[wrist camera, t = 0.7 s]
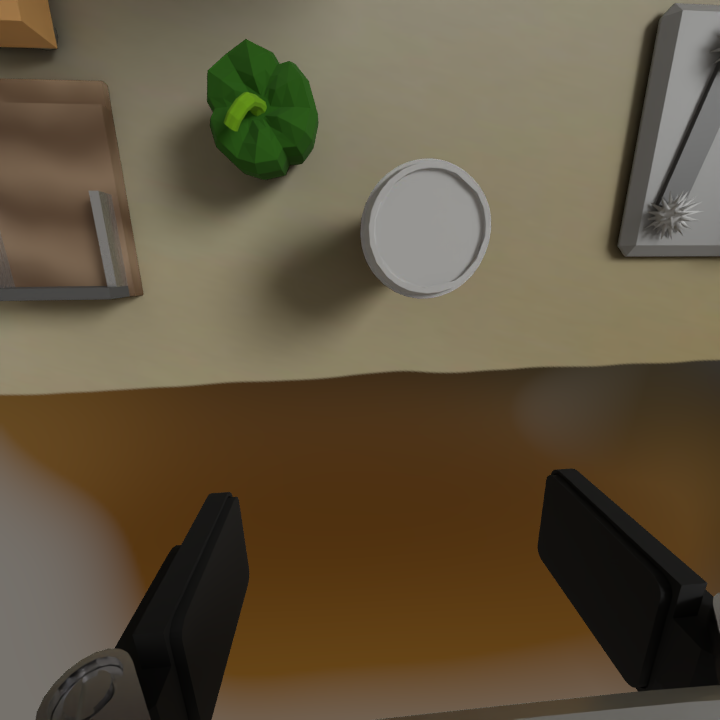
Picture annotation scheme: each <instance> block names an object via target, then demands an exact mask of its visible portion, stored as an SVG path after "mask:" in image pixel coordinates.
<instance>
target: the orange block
mask: <svg viewBox="0 0 720 720" xmlns="http://www.w3.org/2000/svg"><path fill="white" fill-rule="evenodd" d="M57 43H58V36H57V32H56V30H55V28H54V26H53V24H52V19H51V14H50V9H49V4H48V0H0V48H1V47H19V48H39V49H43V50H51V49H53V48H54V49H57Z"/></svg>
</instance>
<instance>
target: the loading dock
mask: <svg viewBox="0 0 720 720" xmlns="http://www.w3.org/2000/svg"><path fill="white" fill-rule="evenodd" d="M139 295H143V289H142V283H141V277H140V272H139V266H138V260H137V254H136V248H135V243H134V237H133V231H132V225H131V219H130V214H129V208H128V202H127V196H126V190H125V185H124V179H123V173H122V167H121V161H120V156H119V150H118V144H117V138H116V132H115V127H114V121H113V115H112V109H111V104H110V98H109V92H108V86H107V85H106V84H105V83H104V82H102V81H81V80H38V79H0V301H26V300H92V299H115V298H121V297H128V296H139Z"/></svg>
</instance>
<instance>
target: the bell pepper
mask: <svg viewBox="0 0 720 720" xmlns="http://www.w3.org/2000/svg"><path fill="white" fill-rule="evenodd" d="M207 102H208V104H209V106H210V108H211V110H212V111H213V114H212V116H211V119H210V128H211V131H212V134H213V138H214V141H215V144H216V147H217V148H218V149H219V150H220V151H221V152H222V153H223V154H224V155H225V156H226V157H227V158H228V159H229V160H230V161H232V162H233V163H234V164H235V165H236V166H237V167H238V168H239V169H240V170H241V171H242V172H243V173H245V174H247V175H250V176H254V177H257V178H260V179H263V180H268V179H272V178H276V177H280V176H284V175H286V174H287V171H288V168H289V166H290V165H298V164H302V163H303V162H304V161H305V159H306V158H307V157H308V155H309V154H310V153H311V151H312V150H313V148H314V143H315V138H316V133H317V128H318V113H317V110H316V106H315V102H314V99H313V95H312V92H311V88H310V84H309V81H308V80H307V78H306V77H305V76H304V75H303V73H302V72H301V71H300V70H299V68H298V67H297V66H296V64H294V63H292V62H290V61H288V62H285V63H282V64H279V62H278V60H277V59H276V57H275V55H274V53H272V52H270V51H268V50H266V49H264V48H262V47H260V46H258V45H256V44H254V43H253V42H251V41H249V40H247V39H245V40H244V41H243V42H241V43H240V44H239V45H237V46H236V47H235V48H233V49H232V50H231V51H229V52H228V53H227V54H225V55H224V56H223V57H222V58H221V59H220V60H219V61H218V62H217V63H216V64H214V65H213V66H212V67H211V68H210V69H209V70H208V73H207Z"/></svg>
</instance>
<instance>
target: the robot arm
mask: <svg viewBox="0 0 720 720" xmlns="http://www.w3.org/2000/svg"><path fill="white" fill-rule="evenodd" d="M538 552H539V555H540V558H541V560H542V561H543V563H544V564H545V565H546V567H547V568H548V570H549V571H550V572H551V574H552V576H553V577H554V578H555V580H556V581H557V583H558V584H559V586H560V587H561V589H562V590H563V591H564V593H565V594H566V596H567V597H568V599H569V600H570V602H571V603H572V604H573V606H574V607H575V609H576V610H577V612H578V613H579V615H580V616H581V617H582V619H583V620H584V622H585V623H586V625H587V626H588V628H589V629H590V631H591V632H592V633H593V635H594V636H595V638H596V639H597V641H598V642H599V644H600V645H601V646H602V648H603V649H604V651H605V652H606V654H607V655H608V657H609V658H610V659H611V661H612V662H613V664H614V665H615V667H616V668H617V669H618V671H619V672H620V674H621V675H622V677H623V678H624V680H625V681H626V682H627V683H628V684H629V685H630V686H632V687H635V688H636V689H637V690H638V692H631V693H621V694H611V695H602V696H601V695H600V696H590V697H580V698H570V699H561V700H551V701H541V702H532V703H522V704H513V705H503V706H494V707H485V708H475V709H466V710H457V711H448V712H439V713H430V714H420V715H411V716H403V717H394V718H386V719H377V720H720V593H718V594H717V595H716V596H714V597H713V596H712V595H711V594H710V593H709V592H707V591H706V590H705V589H706V585H707V582H705V581H704V580H703V579H702V578H701V577H700V576H699V575H697V574H696V573H695V572H694V571H693V570H692V569H690V568H689V567H688V566H687V565H686V564H685V563H683V562H682V561H681V560H680V559H679V558H678V557H676V556H675V555H674V554H673V553H672V552H671V551H670V550H668V549H667V548H666V547H665V546H664V545H663V544H661V543H660V542H659V541H658V540H657V539H656V538H655V537H653V536H652V535H651V534H650V533H649V532H648V531H646V530H645V529H644V528H643V527H642V526H641V525H639V524H638V523H637V522H636V521H635V520H634V519H633V518H631V517H630V516H629V515H628V514H626V512H624V511H623V510H622V509H621V508H620V507H619V506H617V505H616V504H615V503H614V502H613V501H611V499H609V498H608V497H607V496H606V495H605V494H604V493H602V492H601V491H600V490H599V489H598V488H597V487H595V486H594V485H593V484H592V483H591V482H590V481H588V480H587V479H586V478H585V477H584V476H583V475H581V474H580V473H579V472H578V471H577V470H575V469H561V470H554V471H552V473H551V475H549V476H548V477H547V480H546V488H545V494H544V502H543V509H542V517H541V525H540V532H539V540H538ZM248 581H249V566H248V559H247V553H246V546H245V539H244V533H243V526H242V519H241V512H240V505H239V500H238V497H232V494H231V493H230V492H225V493H211V494H209V495H208V497H207V499H206V500H205V502H204V504H203V506H202V508H201V510H200V512H199V514H198V515H197V517H196V519H195V521H194V523H193V524H192V527H191V528H190V530H189V532H188V534H187V536H186V538H185V539H184V541H183V543H182V545H176V546H175V547H173V548H172V550H171V551H170V552H169V554H168V556H167V557H166V559H165V561H164V563H163V564H162V566H161V568H160V570H159V571H158V573H157V575H156V577H155V579H154V580H153V582H152V584H151V585H150V587H149V589H148V591H147V592H146V594H145V596H144V598H143V599H142V601H141V603H140V605H139V607H138V609H137V610H136V612H135V614H134V615H133V617H132V619H131V620H130V622H129V624H128V626H127V628H126V629H125V631H124V633H123V634H122V636H121V638H120V640H119V641H118V643H117V645H116V647H115V648H114V649H105V650H102V651H99V652H95V653H93V654H91V655H90V656H88V657H86V658H84V659H82V660H80V661H79V662H78V663H76V664H75V665H74V666H72V667H71V668H70V669H68V670H67V671H66V672H65V673H64V674H63V675H62V676H61V677H60V678H59V679H58V680H57V681H56V682H55V683H54V684H53V686H52V687H51V688H50V690H49V691H48V692H47V694H46V695H45V696H44V698H43V700H42V702H41V704H40V707H39V709H38V711H37V714H36V720H211V719H212V715H213V712H214V708H215V704H216V701H217V696H218V693H219V690H220V686H221V682H222V678H223V675H224V671H225V667H226V664H227V660H228V656H229V653H230V649H231V645H232V641H233V638H234V634H235V630H236V626H237V623H238V619H239V615H240V611H241V608H242V604H243V600H244V597H245V593H246V590H247V586H248Z"/></svg>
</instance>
